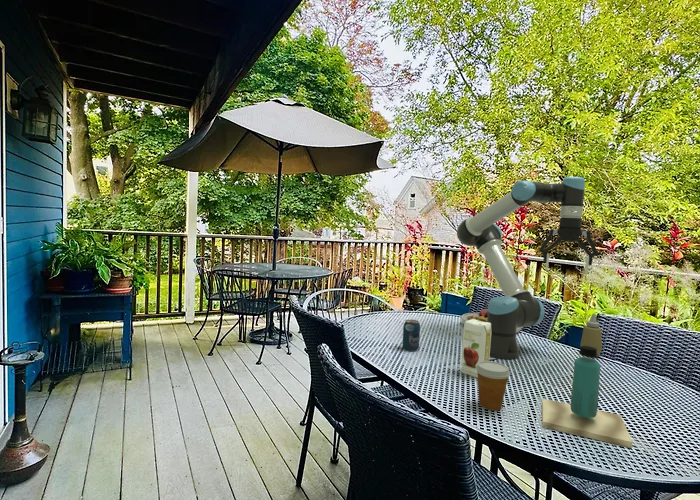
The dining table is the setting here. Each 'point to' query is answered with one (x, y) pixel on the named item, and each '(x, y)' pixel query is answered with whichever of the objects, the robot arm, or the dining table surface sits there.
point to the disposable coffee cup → (492, 384)
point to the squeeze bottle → (592, 335)
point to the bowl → (479, 317)
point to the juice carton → (475, 345)
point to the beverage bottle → (585, 384)
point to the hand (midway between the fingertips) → (566, 272)
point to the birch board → (585, 423)
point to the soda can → (411, 335)
